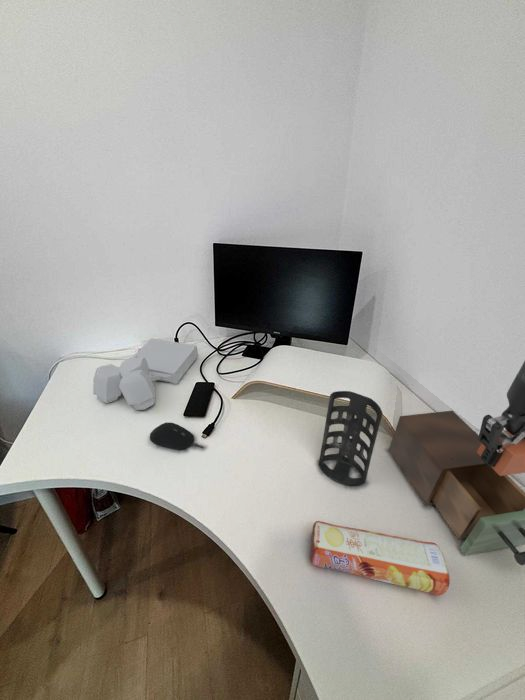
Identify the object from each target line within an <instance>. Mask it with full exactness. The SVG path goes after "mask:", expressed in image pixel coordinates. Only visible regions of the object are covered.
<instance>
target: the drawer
mask: <svg viewBox="0 0 525 700" xmlns="http://www.w3.org/2000/svg"><path fill="white" fill-rule="evenodd" d="M431 500H432V501H433V503H434V504H433V505H434V506H435V508H436V510H438V511H439V513H440V514H441V516H442V517H443V519H444V521H445V522H446V523H447V525H448V526H449V528H450V529H451V531H452V532H453V534H454V535H455V536H456V538H457V539H458V540H462V539H465V540H464V541H463V543H462V545H461V546H460V548H459V549H460V551H461V553H462V554H463V555H464V556H470V555H475V554H480V553H486V552H492V551H496V550H497V551H498V550H503V549H510V551H511V552H512V553H513V558H514V560H515V562H516V563H517V564H518V565H520V566H525V551H519V550H518V548H516V547H519V546H525V491H524V490H523V489H522V488H521V487H520V486H519V485H518V484H517V483H516V482H515V481H514V480H513V479H512V478H511V477H510V475H504V476H499V475H498V473H497V472H496V471H495V470H494V469H493V468H492V467H489V466H480V467H473V468H466V469H459V470H451V471H445V472H444V474H443V476H442V479H441V481H440V483H439V485H438V487H437V489H436V491H435V493H434V495H433V497H432V499H431Z"/></svg>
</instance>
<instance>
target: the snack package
mask: <svg viewBox="0 0 525 700" xmlns="http://www.w3.org/2000/svg"><path fill="white" fill-rule="evenodd" d="M309 551H310V552H309V560H310V562H311V564H312V565H313V566H314V567H316V568H322V569H323V568H324V569H329V570H335V571H339V572H343V573H347V574H352V575H355V576H358V577H363V578H367V579H370V580H375V581H379V582H383V583H387V584H392V585H396V586H400V587H405V588H410V589H414V590H417V591H421V592H424V593H428V594H431V595H434V596H443V595H444V594H445V593H447V591H448V589H449V587H450V582H451V581H450V580H451V579H450V574H449V569H448V565H447V562H446V559H445V558H446V557H445V554H444V553H443V551H442V548H441V547H440V546H439V545H438V544H437V543H435V542H432V541H431V542H430V541H423V540H417V539H412V538H407V537H402V536H397V535H390V534H386V533H381V532H375V531H371V530H366V529H359V528H354V527H349V526H341V525H337V524H333V523H328V522H325V521H320V520H316V521H315V522H314V523H313V525H312V531H311V537H310V550H309Z"/></svg>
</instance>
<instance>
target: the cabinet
mask: <svg viewBox="0 0 525 700" xmlns="http://www.w3.org/2000/svg"><path fill="white" fill-rule="evenodd" d="M478 437H479V433H477V432H476V431H475V430H474V429H473V428H472V427H471V426H469V424H467V423H466V421H464V420H463V419H462V418H461V417H460V416H459V415H458V414H457V413H456V412H455V411H454V410H444V411H436V412H427V413H417V414H407V415H400V416H399V418H398V421H397V424H396V428H395V430H394V433H393V436H392V439H391V442H390V444H389V445H390V446H389V448H388V453H390V455H391V457H392V458H393V460H394V461H395V463H396V464H397V466H398V467H399V469H400V470H401V472H402V473H403V475H404V476H405V477H406V479H407V481H408V483H409V484H410V486H411V487H412V489H413V490H414V491H415V493H416V495H417V496H418V498H419V499H420V500H421V502H422V504H423V505H424V506H427V507H428V506H433V505H435V504H434V503H433V501H432V500H431V499H432V497H433V495H434V493H435V491H436V489H437V487H438V485H439V483H440V481H441V479H442V476H443V474H444V472H445V471H451V470H459V469H466V468H473V467H480V466H488V465H487V464H486V463H485V462H484V461H483V460H482V458H481V456H480V455H479V454H478V453H477V451H478V449H479V447H480V445H481V444H482V443H481V442H480V441H479V440H478Z"/></svg>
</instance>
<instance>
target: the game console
mask: <svg viewBox="0 0 525 700" xmlns="http://www.w3.org/2000/svg"><path fill="white" fill-rule="evenodd" d="M198 356H199V349H198V345H196V344H191V343H184V342H179V341H178V342H177V341H172V340H165V339H158V338H150V339H149V340H148V341H147V342H146V343H145V344H144V345H143V346H142V347H141V348H140V349H139V350H138V351H137V352H136V353H134V354H133V356H130V357H129V358H126V359H125V360H123V361H122V362H121V363H120V365H119V366H117V365H115V364H112V363H110V364H105V365H101V366H99V367H97V368H96V370H95V372H94V375H93V384H92V385H93V388H92V390H93V391H92V394H93V395H95V396H96V398H97V400H99V401H101V402H103V403H105V404H109V403H111V402H115V401H118V399H119V397H121V396H123V397H124V399H125V401H126V404H127V405H129V406H131V405H132V407H133V408H134V410H136V411H144V410H147V409H148V408H149V407H152V406H153V405H155V403H156V387H155V385H154V383H153V382H155V381H161V382H164V383H165V382H166V383H171V384H176V385H177V384H179V381H181V379H182V378H183V377H184V375H185V374H186V372H188V370H189V369H190V367H191V366H192V364H194V362H195V360H196V359H197V358H198Z"/></svg>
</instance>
